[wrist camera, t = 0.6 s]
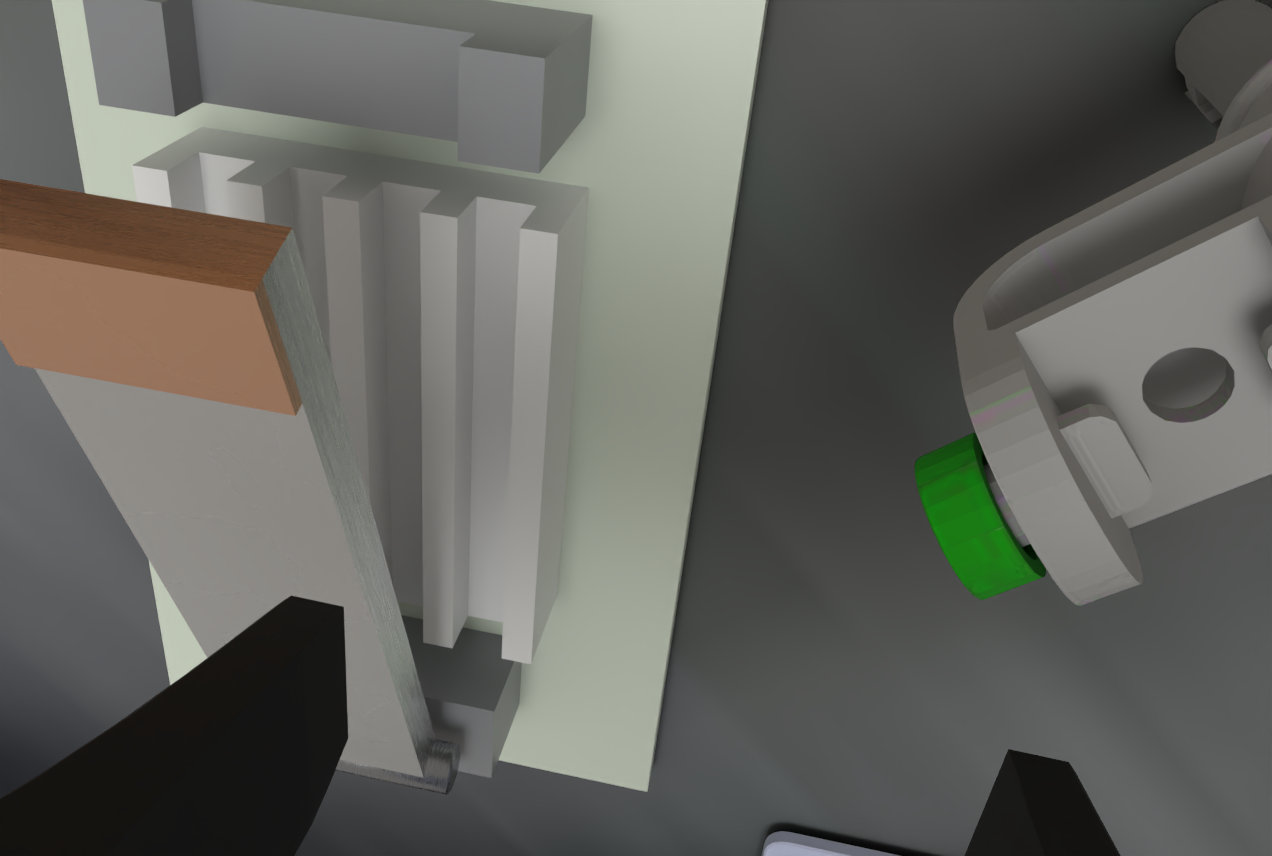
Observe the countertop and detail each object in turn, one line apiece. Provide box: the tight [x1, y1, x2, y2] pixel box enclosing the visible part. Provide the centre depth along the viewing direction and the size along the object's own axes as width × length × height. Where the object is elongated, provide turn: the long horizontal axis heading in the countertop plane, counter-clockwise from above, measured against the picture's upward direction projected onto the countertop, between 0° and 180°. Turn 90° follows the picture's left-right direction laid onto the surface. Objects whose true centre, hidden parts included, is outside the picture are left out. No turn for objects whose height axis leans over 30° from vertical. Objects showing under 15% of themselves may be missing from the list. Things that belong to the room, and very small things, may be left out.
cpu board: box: [52, 0, 769, 792], centre depth 21 cm, size 18×12×4 cm, turn 174°
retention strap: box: [0, 179, 461, 794], centre depth 18 cm, size 14×4×1 cm, turn 174°
